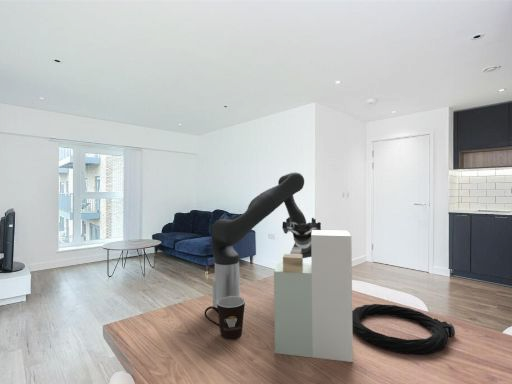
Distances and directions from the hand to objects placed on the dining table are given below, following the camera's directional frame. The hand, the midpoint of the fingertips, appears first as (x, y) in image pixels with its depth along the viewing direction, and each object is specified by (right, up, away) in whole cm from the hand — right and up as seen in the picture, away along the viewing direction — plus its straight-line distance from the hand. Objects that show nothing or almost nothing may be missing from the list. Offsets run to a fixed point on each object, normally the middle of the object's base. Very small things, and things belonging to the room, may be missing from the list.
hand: (300, 219), depth 100 cm
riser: (0, -33, -23) cm, 40 cm away
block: (-4, -11, -16) cm, 20 cm away
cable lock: (+28, -34, -14) cm, 46 cm away
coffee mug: (-25, -34, -15) cm, 45 cm away
